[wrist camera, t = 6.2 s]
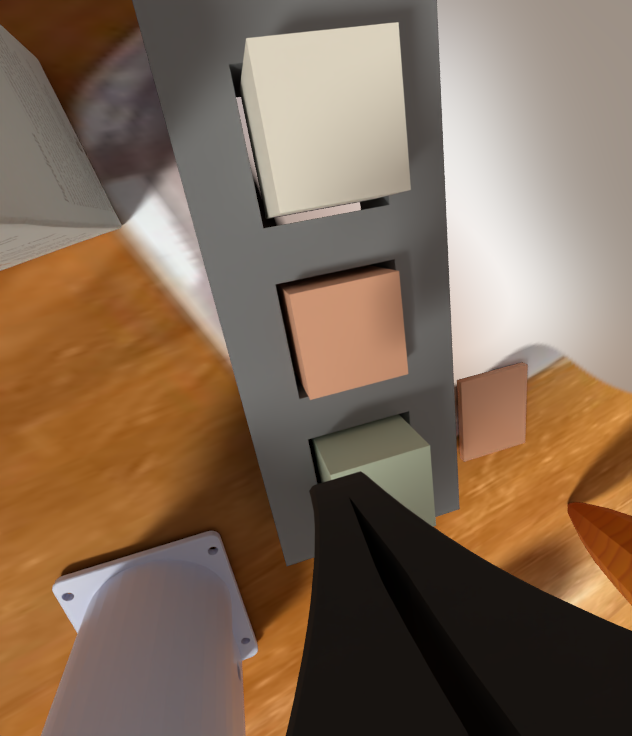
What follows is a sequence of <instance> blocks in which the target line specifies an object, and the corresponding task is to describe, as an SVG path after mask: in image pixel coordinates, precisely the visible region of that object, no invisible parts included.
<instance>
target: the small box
mask: <svg viewBox="0 0 632 736" xmlns="http://www.w3.org/2000/svg"><path fill="white" fill-rule="evenodd" d="M119 228H121V223H120V221H119V219H118V217H117V215H116V213H115V211H114V209H113V207H112V205H111V203H110V201H109V199H108V197H107V195H106V193H105V191H104V189H103V187H102V185H101V183H100V181H99V179H98V177H97V175H96V173H95V171H94V169H93V167H92V166H91V164H90V162H89V160H88V158H87V156H86V154H85V152H84V150H83V148H82V146H81V144H80V142H79V140H78V138H77V136H76V134H75V132H74V130H73V128H72V126H71V124H70V122H69V120H68V118H67V116H66V114H65V112H64V110H63V108H62V106H61V104H60V102H59V100H58V98H57V96H56V94H55V92H54V90H53V88H52V86H51V84H50V82H49V80H48V78H47V77H46V75H45V73H44V71H43V69H42V66H41V64H40V62H39V61H38V59H37V58H36V57H35V56H34V55H33V54H32V53H31V52H30V51H28V50H27V49H26V48H25V47H24V46H23V45H22V44H21V43H20V42H19V41H18V40H17V39H16V38H14V37H13V36H12V35H11V34H10V33H9V32H8V31H7V30H6V29H5V28H4V27H3V26H1V25H0V271H1V270H4V269H6V268H9V267H12V266H15V265H18V264H20V263H23V262H26V261H29V260H31V259H34V258H37V257H40V256H43V255H45V254H48V253H51V252H54V251H56V250H59V249H62V248H65V247H67V246H70V245H73V244H76V243H79V242H82V241H84V240H87V239H90V238H93V237H96V236H99V235H102V234H104V233H107V232H111V231H114V230H117V229H119Z"/></svg>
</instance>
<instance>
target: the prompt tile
mask: <svg viewBox="0 0 632 736" xmlns="http://www.w3.org/2000/svg"><path fill="white" fill-rule="evenodd" d="M527 368H528V365H527V364H525V363H523V362H522V363H518V364H514V365H511V366H507V367H503V368H500V369H496V370H492V371H489V372H485V373H482V374H478V375H474V376H470V377H467V378H463V379H459V380H457V394H458V418H459V443H460V458H461V459H462V460H463V461H464V462H465V461H468V460H471V459H474V458H478V457H481V456H484V455H487V454H490V453H494V452H497V451H500V450H503V449H506V448H510V447H513V446H516V445H519V444H523V443H525V430H526V399H527Z"/></svg>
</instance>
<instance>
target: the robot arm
mask: <svg viewBox="0 0 632 736" xmlns="http://www.w3.org/2000/svg"><path fill="white" fill-rule="evenodd" d="M309 493H310V497H311V502H312V506H313V511H314V523H315V552H314V570H313V582H312V593H311V603H310V611H309V619H308V626H307V632H306V638H305V645H304V651H303V656H302V662H301V667H300V672H299V677H298V682H297V687H296V692H295V697H294V702H293V706H292V711H291V716H290V720H289V724H288V729H287V733H286V736H632V631H631V630H628V629H626V628H623V627H621V626H618V625H616V624H614V623H611V622H609V621H607V620H605V619H602V618H600V617H598V616H596V615H594V614H591V613H589V612H587V611H585V610H583V609H581V608H578V607H576V606H574V605H572V604H570V603H568V602H565V601H563V600H561V599H559V598H557V597H554V596H552V595H550V594H548V593H546V592H544V591H542V590H540V589H538V588H536V587H534V586H532V585H530V584H528V583H526V582H524V581H522V580H520V579H518V578H517V577H515V576H513V575H511V574H509V573H507V572H506V571H504V570H502V569H500V568H498V567H497V566H495V565H493V564H491V563H489V562H488V561H486V560H484V559H483V558H481V557H479V556H478V555H476V554H474V553H473V552H471V551H469V550H468V549H466V548H465V547H463V546H461V545H460V544H458V543H457V542H455V541H454V540H452V539H451V538H449V537H447V536H446V535H444V534H443V533H441V532H440V531H439V530H437V529H436V528H434V527H433V526H431V525H430V524H428V523H427V522H426V521H424V520H423V519H421V518H420V517H419V516H417V515H416V514H415V513H413V512H412V511H410V510H409V509H408V508H406V507H405V506H404V505H402V504H401V503H400V502H399V501H397V500H396V499H395V498H393V497H392V496H391V495H390V494H388V493H387V492H386V491H385V490H384V489H382V488H381V487H380V486H379V485H377V484H376V483H375V482H374V481H373V480H372V479H370V478H369V477H368V476H367V475H366V474H364V473H363V472H361V471H359V472H356V473H353V474H350V475H346V476H343V477H340V478H336V479H333V480H330V481H326V482H323V483H320V484H316V485H313V486H312V487H311V489H310V490H309ZM211 547H217V548H215V549H209V548H211ZM52 590H53V593H54V595H55V596H56V598H57V600H58V601H59V603H60V605H61V606H62V608H63V610H64V611H65V613H66V615H67V616H68V618H69V620H70V621H71V623H72V625H73V626H74V628H75V630H76V631H77V633H78V634H77V637H76V640H75V642H74V645H73V648H72V651H71V653H70V656H69V659H68V662H67V665H66V667H65V670H64V673H63V676H62V678H61V681H60V684H59V687H58V690H57V692H56V695H55V698H54V701H53V703H52V706H51V709H50V712H49V715H48V717H47V720H46V723H45V726H44V728H43V731H42V734H41V736H246V735H245V714H244V694H243V674H242V660H245V659H247V658H250V657H252V656H254V655H255V654H256V653H257V651H258V645H257V641H256V638H255V635H254V632H253V629H252V626H251V623H250V620H249V618H248V615H247V612H246V609H245V606H244V603H243V600H242V597H241V594H240V592H239V589H238V586H237V583H236V580H235V577H234V574H233V571H232V568H231V566H230V563H229V560H228V557H227V554H226V551H225V548H224V545H223V542H222V540H221V537H220V535H219V533H218V532H216V531H207V532H204V533H200V534H197V535H194V536H191V537H187V538H184V539H181V540H178V541H174V542H171V543H168V544H165V545H161V546H158V547H155V548H152V549H148V550H145V551H142V552H139V553H135V554H132V555H129V556H126V557H122V558H119V559H116V560H113V561H109V562H106V563H103V564H100V565H96V566H93V567H90V568H87V569H83V570H80V571H77V572H74V573H70V574H67V575H64V576H61V577H59V578H58V579H57V580H56V581H55V583H54V585H53V588H52ZM68 593H72V594H68Z"/></svg>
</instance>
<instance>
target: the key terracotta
mask: <svg viewBox="0 0 632 736" xmlns="http://www.w3.org/2000/svg"><path fill="white" fill-rule="evenodd" d="M276 287H277V292H278V297H279V302H280V306H281V311H282V316H283V321H284V325H285V330H286V335H287V340H288V344H289V349H290V354H291V359H292V363H293V368H294V371H295V373H296V375H297V376H298V378H299V380H300V382H301V384H302V386H303V387H304V389H305V391H306V393H307V395H308V397H309V398H310V400H312V399H316V398H320V397H323V396H327V395H331V394H335V393H339V392H342V391H346V390H350V389H354V388H358V387H361V386H365V385H369V384H373V383H376V382H380V381H384V380H388V379H392V378H395V377H399V376H403V375H407V374H408V364H407V353H406V342H405V331H404V320H403V309H402V298H401V287H400V276H399V271H397V270H391V269H386V268H381V267H376V266H371V265H365V266H360V267H355V268H351V269H346V270H341V271H336V272H332V273H327V274H322V275H318V276H313V277H308V278H303V279H299V280H294V281H289V282H284V283H280V284H276Z"/></svg>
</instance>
